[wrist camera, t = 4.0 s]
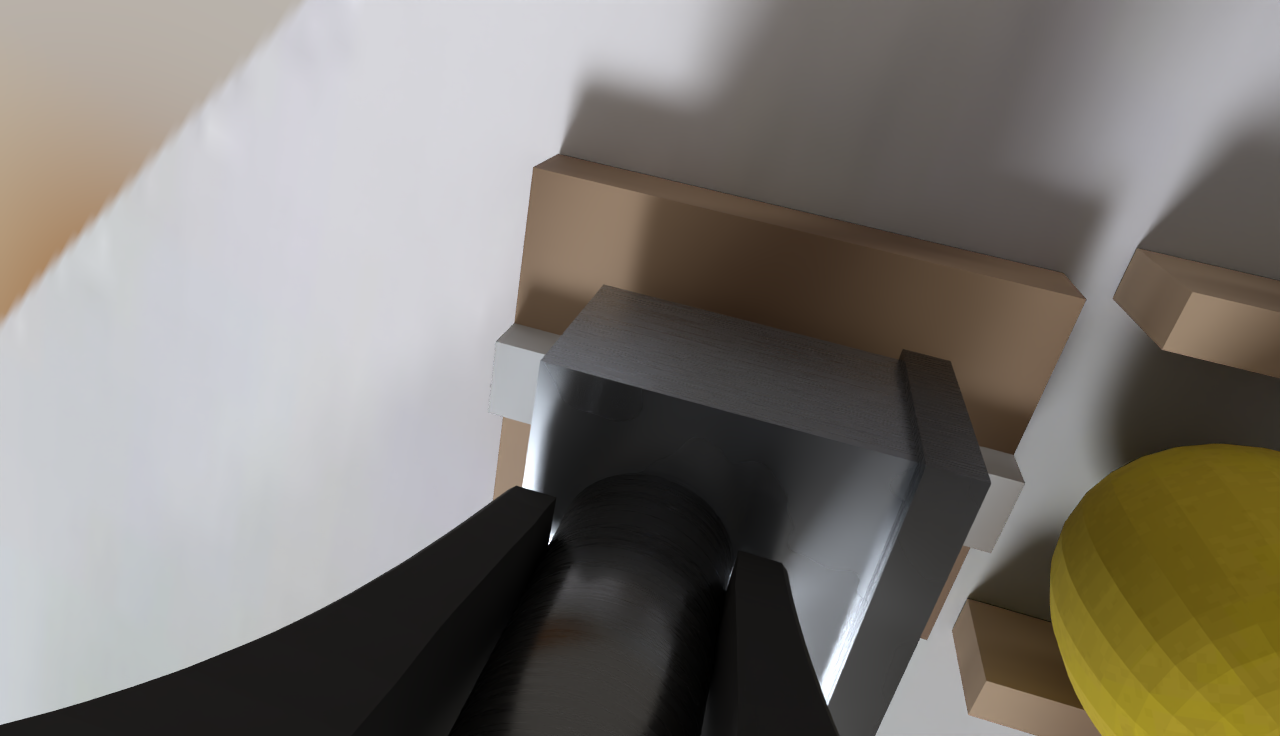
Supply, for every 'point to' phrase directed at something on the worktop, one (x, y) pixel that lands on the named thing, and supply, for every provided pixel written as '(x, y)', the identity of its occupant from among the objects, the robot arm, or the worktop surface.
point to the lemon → (1175, 594)
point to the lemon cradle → (1177, 322)
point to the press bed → (785, 301)
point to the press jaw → (724, 516)
